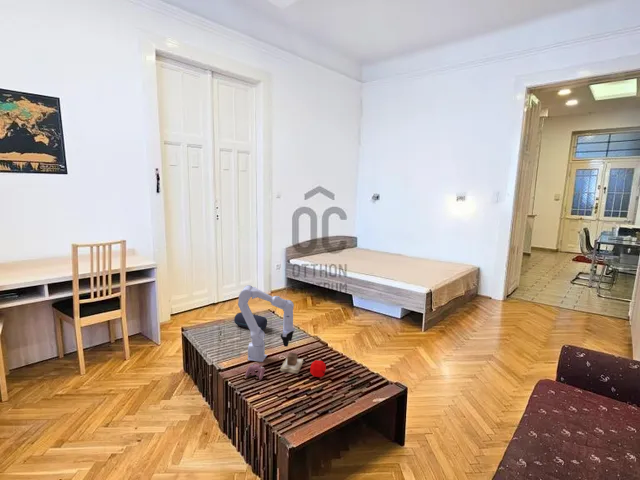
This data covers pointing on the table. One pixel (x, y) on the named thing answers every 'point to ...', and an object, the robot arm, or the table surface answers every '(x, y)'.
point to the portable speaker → (259, 320)
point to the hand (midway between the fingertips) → (287, 343)
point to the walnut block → (292, 359)
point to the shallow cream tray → (292, 366)
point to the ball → (318, 368)
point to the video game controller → (257, 368)
